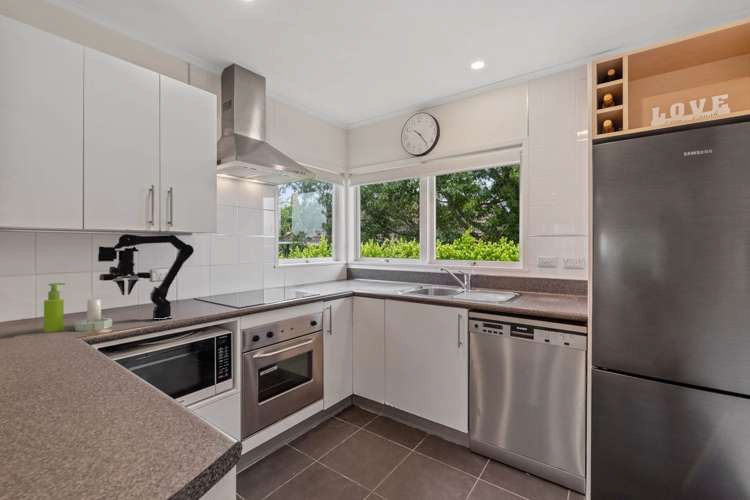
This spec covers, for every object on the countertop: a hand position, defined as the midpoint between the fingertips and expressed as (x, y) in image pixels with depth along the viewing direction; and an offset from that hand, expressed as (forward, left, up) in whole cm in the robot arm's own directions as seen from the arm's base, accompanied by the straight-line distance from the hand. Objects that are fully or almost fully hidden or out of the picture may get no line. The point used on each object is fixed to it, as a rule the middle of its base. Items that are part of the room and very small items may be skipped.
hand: (126, 294), depth 159 cm
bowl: (+13, +4, -13) cm, 19 cm away
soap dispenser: (+24, -3, -13) cm, 28 cm away
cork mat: (+15, +15, -13) cm, 25 cm away
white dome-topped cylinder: (+13, +4, -12) cm, 18 cm away
